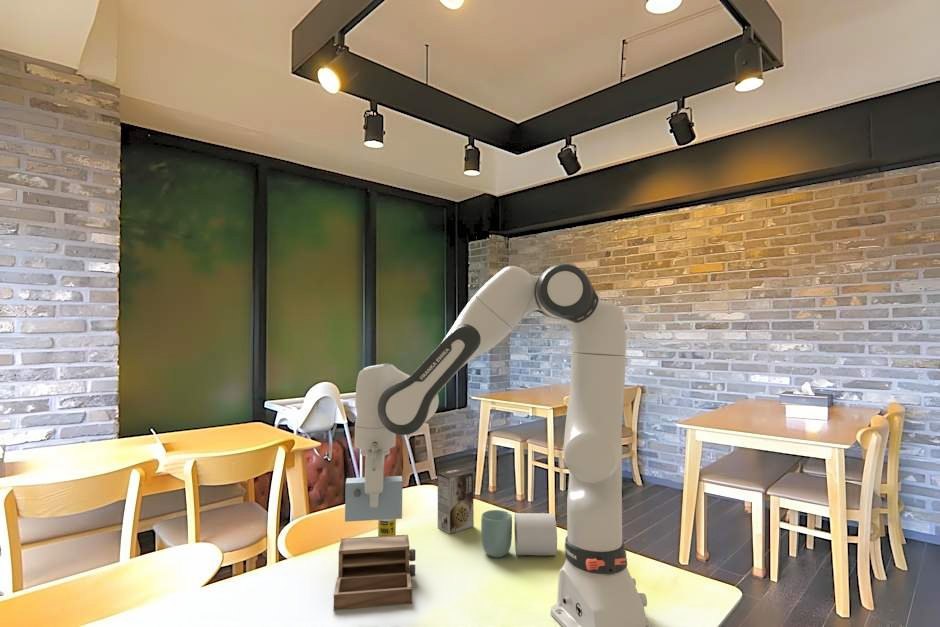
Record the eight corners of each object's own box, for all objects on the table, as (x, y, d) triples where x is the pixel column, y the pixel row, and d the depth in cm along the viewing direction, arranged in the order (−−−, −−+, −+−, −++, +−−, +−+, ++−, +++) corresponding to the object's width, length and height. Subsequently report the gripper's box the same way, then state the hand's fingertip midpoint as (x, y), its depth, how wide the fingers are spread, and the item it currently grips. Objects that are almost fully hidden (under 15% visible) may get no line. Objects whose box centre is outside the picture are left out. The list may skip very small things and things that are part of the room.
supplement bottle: (378, 543, 138) (378, 512, 139) (377, 537, 143) (378, 506, 143) (396, 542, 139) (396, 511, 140) (395, 535, 144) (395, 505, 144)
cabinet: (418, 602, 108) (418, 566, 108) (333, 609, 105) (334, 572, 105) (413, 565, 125) (413, 534, 126) (340, 570, 122) (341, 538, 123)
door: (402, 520, 109) (402, 482, 109) (344, 523, 107) (345, 484, 107) (401, 512, 114) (401, 476, 114) (346, 515, 112) (346, 478, 112)
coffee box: (460, 520, 156) (460, 467, 156) (474, 526, 151) (474, 471, 151) (436, 527, 150) (436, 472, 151) (449, 534, 145) (450, 477, 146)
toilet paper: (551, 545, 137) (551, 508, 138) (557, 562, 127) (557, 521, 128) (514, 545, 138) (514, 507, 138) (517, 561, 128) (517, 521, 128)
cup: (500, 563, 126) (500, 522, 127) (475, 555, 131) (475, 515, 132) (517, 553, 133) (517, 514, 133) (492, 545, 137) (492, 507, 138)
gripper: (390, 448, 102) (389, 518, 101) (389, 429, 122) (388, 487, 121) (358, 449, 101) (356, 520, 100) (362, 429, 121) (361, 488, 120)
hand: (374, 502), depth 111 cm, fingers closed on door, 4 cm apart
